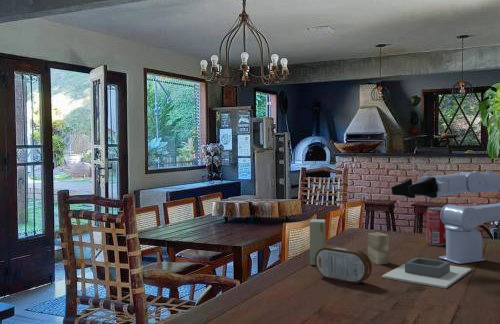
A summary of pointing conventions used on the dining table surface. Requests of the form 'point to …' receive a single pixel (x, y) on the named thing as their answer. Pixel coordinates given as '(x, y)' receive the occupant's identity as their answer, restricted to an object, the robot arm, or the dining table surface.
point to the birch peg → (378, 248)
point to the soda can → (435, 227)
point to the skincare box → (317, 237)
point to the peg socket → (428, 272)
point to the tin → (343, 264)
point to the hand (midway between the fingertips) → (400, 190)
